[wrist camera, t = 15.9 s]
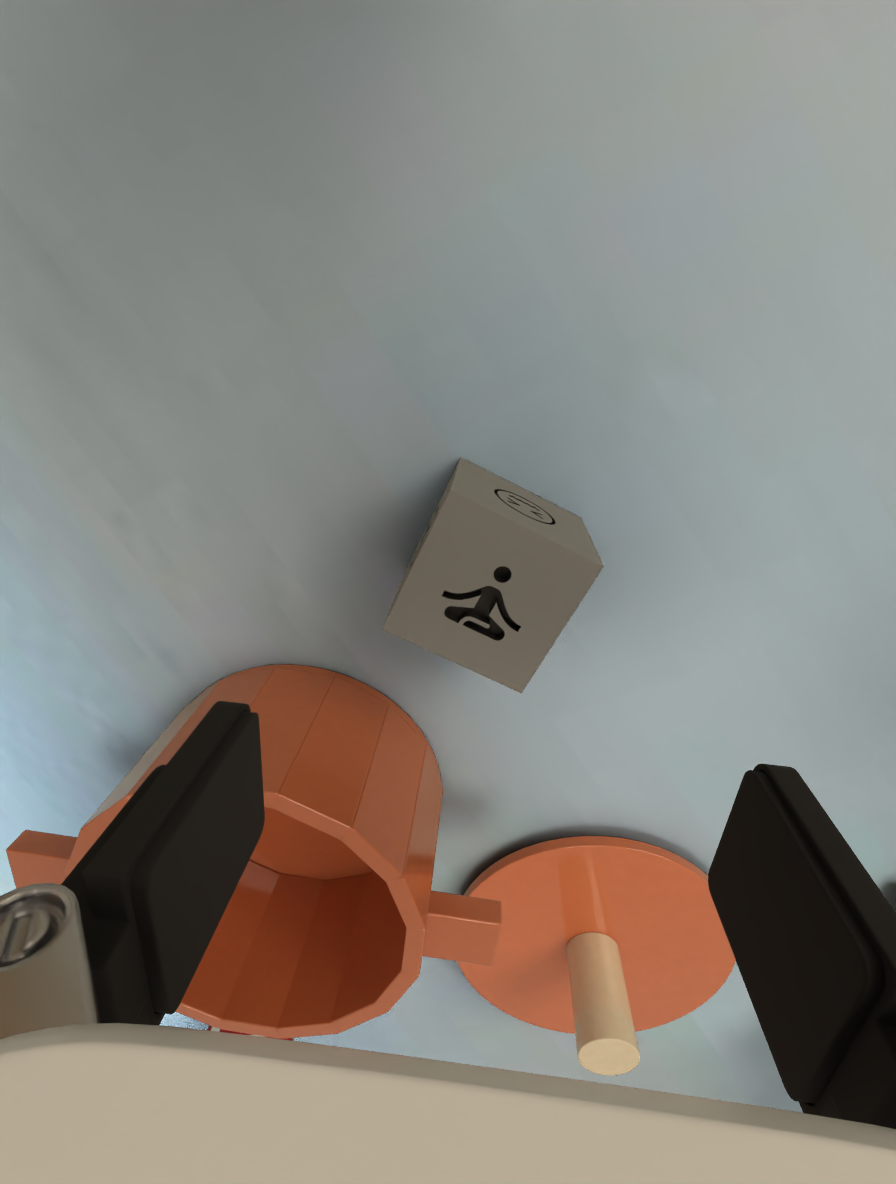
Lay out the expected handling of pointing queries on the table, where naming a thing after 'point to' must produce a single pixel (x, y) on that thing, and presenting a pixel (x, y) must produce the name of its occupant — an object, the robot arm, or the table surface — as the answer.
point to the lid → (601, 942)
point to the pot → (312, 860)
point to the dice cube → (493, 577)
